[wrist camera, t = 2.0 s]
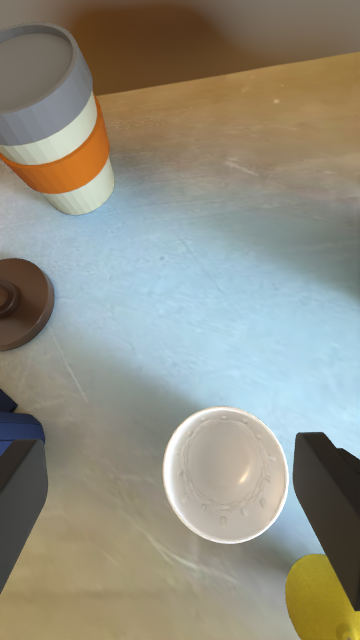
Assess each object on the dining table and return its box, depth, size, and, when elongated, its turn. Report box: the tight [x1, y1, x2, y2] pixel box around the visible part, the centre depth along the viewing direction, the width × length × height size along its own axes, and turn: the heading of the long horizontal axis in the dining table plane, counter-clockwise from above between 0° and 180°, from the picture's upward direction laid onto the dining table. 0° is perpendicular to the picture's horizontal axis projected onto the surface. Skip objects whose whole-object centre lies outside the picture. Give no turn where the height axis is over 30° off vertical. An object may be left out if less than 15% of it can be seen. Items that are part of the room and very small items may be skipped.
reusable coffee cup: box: [0, 22, 115, 215], centre depth 36 cm, size 13×13×15 cm
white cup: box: [162, 406, 289, 544], centre depth 25 cm, size 8×8×10 cm
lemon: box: [285, 554, 360, 640], centre depth 22 cm, size 6×6×8 cm
